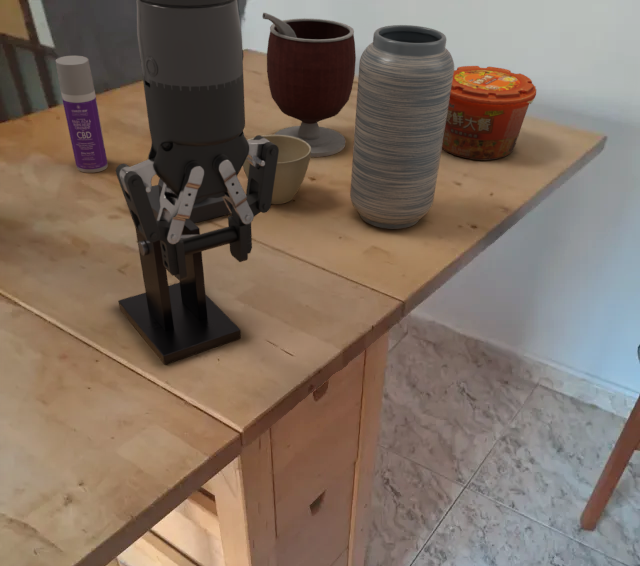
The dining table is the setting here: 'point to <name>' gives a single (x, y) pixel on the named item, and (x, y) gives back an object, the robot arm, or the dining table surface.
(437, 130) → the vase
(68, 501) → the dining table surface
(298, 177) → the flower pot
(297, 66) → the mate gourd
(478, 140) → the food container
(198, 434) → the dining table surface
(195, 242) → the lever
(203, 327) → the bracket
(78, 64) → the container
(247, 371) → the dining table surface
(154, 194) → the button box
